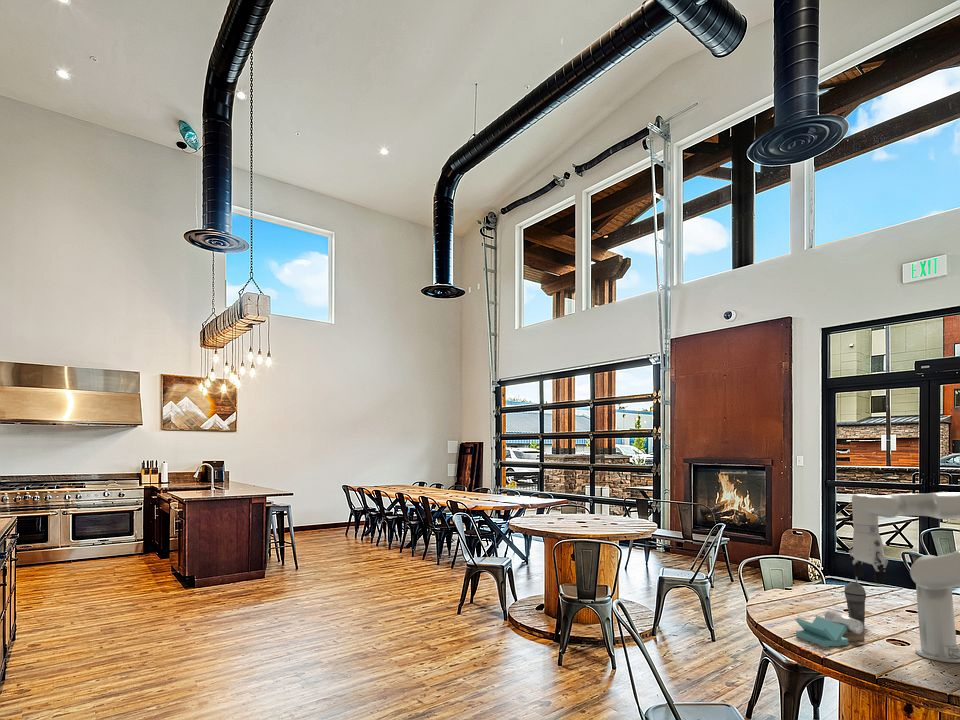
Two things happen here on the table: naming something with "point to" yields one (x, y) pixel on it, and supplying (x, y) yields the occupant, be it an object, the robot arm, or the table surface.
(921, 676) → the table surface
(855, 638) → the tan stepped block
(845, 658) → the table surface
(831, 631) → the v block
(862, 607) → the beverage cup
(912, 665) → the table surface
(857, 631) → the axle
